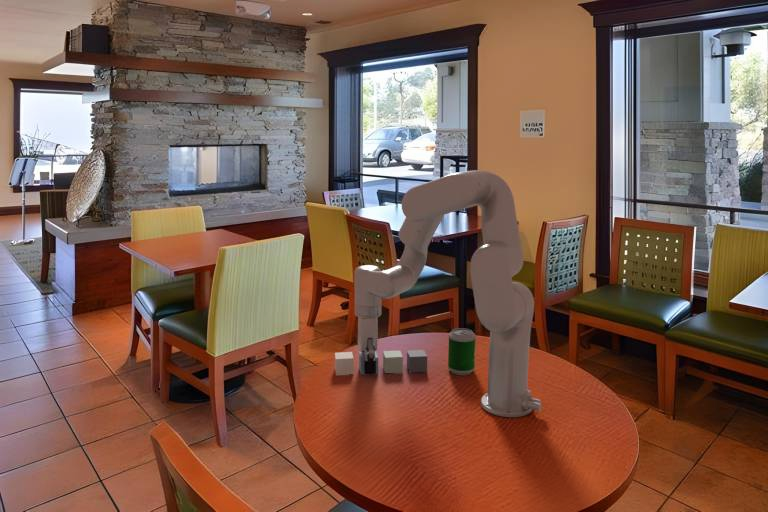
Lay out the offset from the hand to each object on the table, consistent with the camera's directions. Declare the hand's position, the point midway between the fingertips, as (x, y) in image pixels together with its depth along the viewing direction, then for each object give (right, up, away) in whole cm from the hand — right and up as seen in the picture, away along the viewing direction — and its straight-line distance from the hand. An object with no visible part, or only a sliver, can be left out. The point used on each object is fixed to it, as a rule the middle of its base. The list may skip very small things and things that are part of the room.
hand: (368, 367), depth 163 cm
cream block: (-7, -1, 0) cm, 7 cm away
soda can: (+27, -1, 0) cm, 27 cm away
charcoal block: (+14, -1, +1) cm, 14 cm away
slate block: (0, -1, 0) cm, 1 cm away
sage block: (+7, -1, +1) cm, 7 cm away
